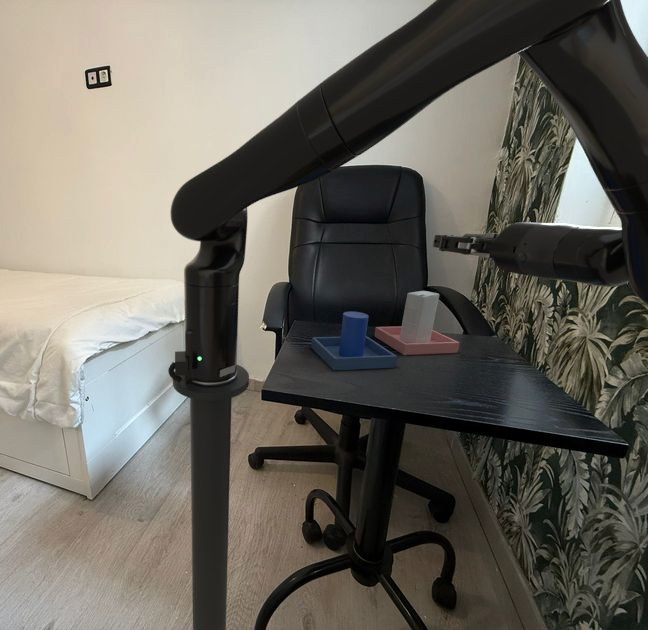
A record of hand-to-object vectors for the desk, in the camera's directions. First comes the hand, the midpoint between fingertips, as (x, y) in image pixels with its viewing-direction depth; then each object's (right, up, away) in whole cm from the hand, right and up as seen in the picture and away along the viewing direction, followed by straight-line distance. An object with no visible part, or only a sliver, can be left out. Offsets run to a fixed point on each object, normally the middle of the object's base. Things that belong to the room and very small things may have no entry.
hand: (456, 241), depth 66 cm
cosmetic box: (+2, -20, +19) cm, 28 cm away
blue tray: (-16, -23, +11) cm, 30 cm away
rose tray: (+2, -21, +19) cm, 28 cm away
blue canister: (-16, -22, +11) cm, 29 cm away
